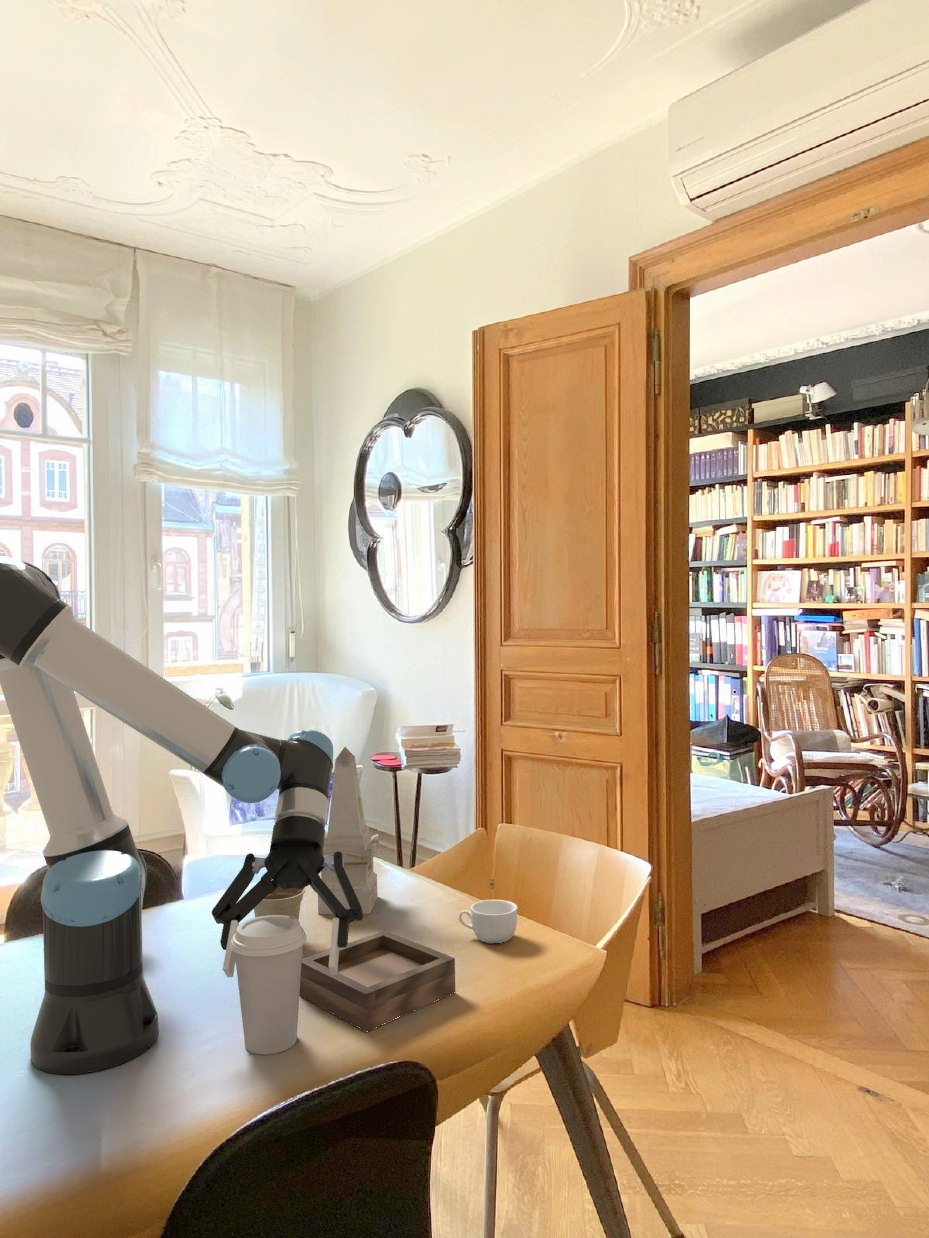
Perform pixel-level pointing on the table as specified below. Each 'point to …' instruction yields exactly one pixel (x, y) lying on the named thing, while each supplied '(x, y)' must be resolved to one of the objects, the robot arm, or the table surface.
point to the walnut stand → (377, 979)
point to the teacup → (492, 920)
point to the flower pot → (281, 903)
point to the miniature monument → (349, 838)
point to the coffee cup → (269, 980)
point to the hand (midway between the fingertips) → (280, 972)
